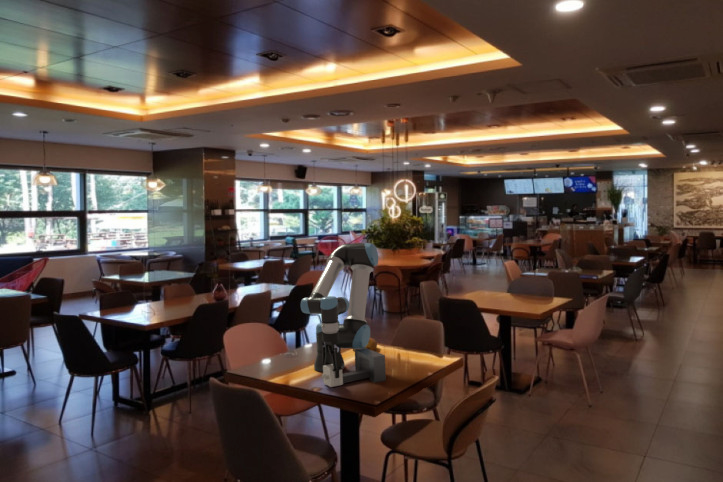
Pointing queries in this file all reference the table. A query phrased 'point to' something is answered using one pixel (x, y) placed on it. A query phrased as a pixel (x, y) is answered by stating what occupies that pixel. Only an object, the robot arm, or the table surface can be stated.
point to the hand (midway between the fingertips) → (332, 382)
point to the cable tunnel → (371, 364)
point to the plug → (343, 375)
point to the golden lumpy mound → (370, 345)
